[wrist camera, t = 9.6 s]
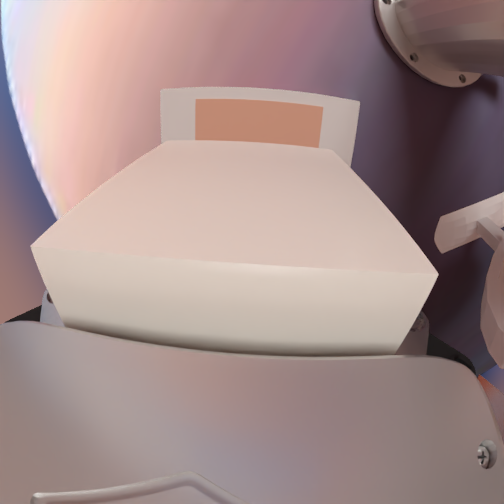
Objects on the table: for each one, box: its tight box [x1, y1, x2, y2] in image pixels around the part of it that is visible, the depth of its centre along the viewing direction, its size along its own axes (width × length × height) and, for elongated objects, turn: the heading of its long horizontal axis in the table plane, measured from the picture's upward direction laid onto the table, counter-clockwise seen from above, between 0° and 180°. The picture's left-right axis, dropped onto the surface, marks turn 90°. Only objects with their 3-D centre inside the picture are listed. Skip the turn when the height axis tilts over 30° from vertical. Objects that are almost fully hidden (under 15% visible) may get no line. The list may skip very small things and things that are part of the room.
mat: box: [161, 87, 360, 167], centre depth 26 cm, size 16×26×1 cm, turn 177°
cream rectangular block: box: [31, 140, 439, 357], centre depth 10 cm, size 7×7×9 cm
